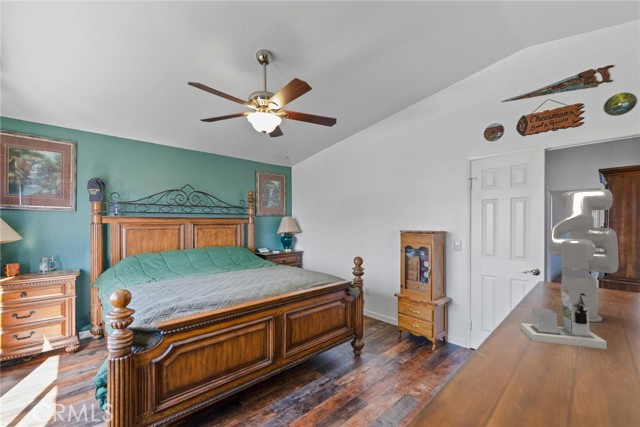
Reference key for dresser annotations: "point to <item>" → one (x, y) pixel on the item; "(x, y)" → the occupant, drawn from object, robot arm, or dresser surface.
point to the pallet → (564, 338)
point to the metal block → (544, 321)
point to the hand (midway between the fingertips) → (575, 320)
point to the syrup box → (573, 318)
